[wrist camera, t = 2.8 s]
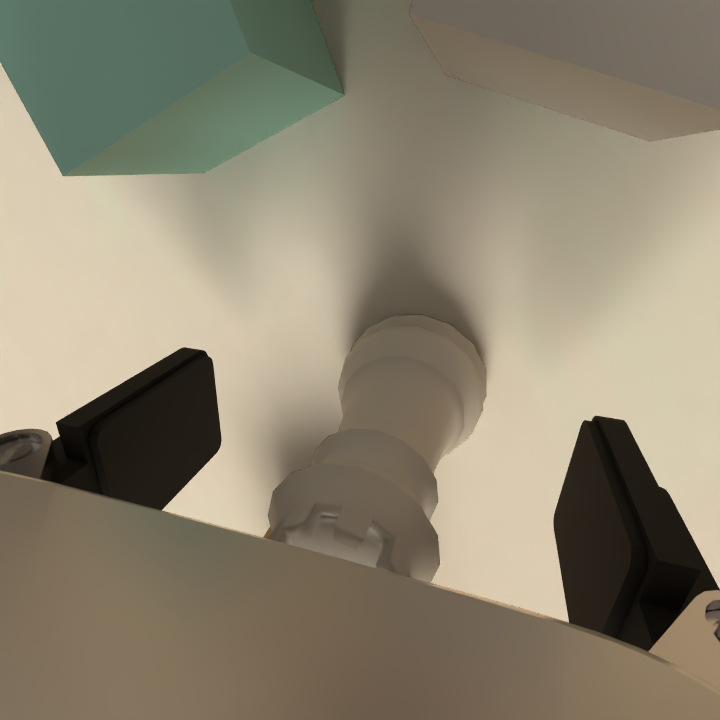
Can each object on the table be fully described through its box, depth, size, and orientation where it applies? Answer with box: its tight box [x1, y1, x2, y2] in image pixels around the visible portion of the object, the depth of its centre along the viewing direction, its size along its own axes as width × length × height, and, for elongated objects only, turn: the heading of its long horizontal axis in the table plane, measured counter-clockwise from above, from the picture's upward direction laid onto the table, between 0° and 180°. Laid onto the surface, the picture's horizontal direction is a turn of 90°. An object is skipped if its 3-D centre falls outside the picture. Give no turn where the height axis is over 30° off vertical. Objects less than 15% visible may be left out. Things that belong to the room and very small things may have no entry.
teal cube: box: [0, 0, 344, 176], centre depth 10 cm, size 5×5×5 cm
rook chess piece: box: [268, 315, 486, 583], centre depth 11 cm, size 4×4×8 cm
